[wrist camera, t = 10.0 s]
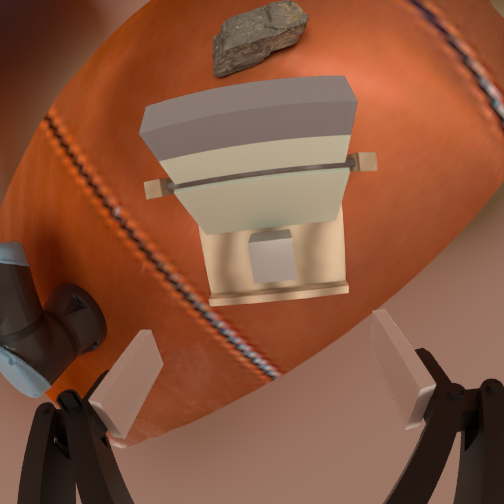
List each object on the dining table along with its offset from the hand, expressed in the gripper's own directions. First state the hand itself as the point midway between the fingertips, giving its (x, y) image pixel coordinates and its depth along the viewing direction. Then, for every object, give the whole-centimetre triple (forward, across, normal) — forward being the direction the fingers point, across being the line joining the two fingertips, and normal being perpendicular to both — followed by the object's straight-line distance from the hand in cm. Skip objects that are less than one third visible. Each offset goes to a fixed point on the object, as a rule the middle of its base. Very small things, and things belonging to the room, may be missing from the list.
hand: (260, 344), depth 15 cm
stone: (+23, 0, +1) cm, 23 cm away
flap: (+18, 0, +11) cm, 21 cm away
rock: (+27, +2, +30) cm, 41 cm away
